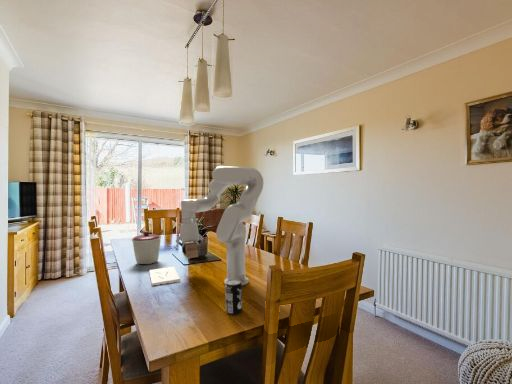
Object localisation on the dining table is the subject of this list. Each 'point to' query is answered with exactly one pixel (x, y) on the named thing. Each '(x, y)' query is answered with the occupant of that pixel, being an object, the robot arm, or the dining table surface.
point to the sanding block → (191, 249)
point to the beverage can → (233, 296)
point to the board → (164, 276)
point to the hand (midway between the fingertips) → (190, 252)
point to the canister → (146, 248)
